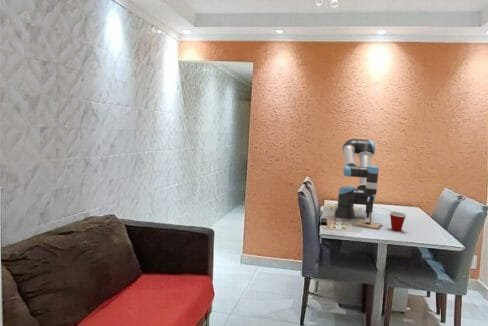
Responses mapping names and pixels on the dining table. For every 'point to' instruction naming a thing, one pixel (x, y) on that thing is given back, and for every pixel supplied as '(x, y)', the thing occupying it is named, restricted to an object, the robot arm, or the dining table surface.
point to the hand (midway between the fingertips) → (368, 221)
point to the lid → (368, 224)
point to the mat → (369, 228)
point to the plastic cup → (397, 220)
